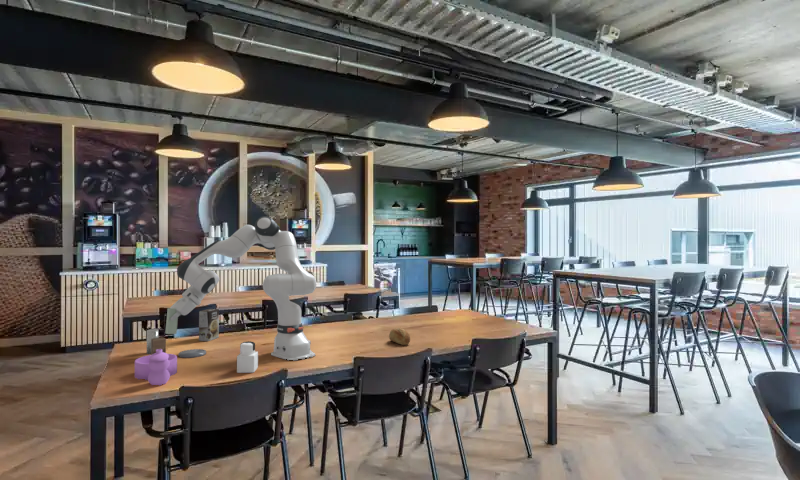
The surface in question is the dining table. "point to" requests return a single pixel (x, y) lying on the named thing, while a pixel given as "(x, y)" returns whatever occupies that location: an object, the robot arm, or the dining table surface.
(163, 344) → the walnut block
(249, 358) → the medicine bottle
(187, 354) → the disc
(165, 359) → the container set
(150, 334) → the pewter tin
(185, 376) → the dining table surface
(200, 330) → the coffee box
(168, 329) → the sage block
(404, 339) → the bread roll
